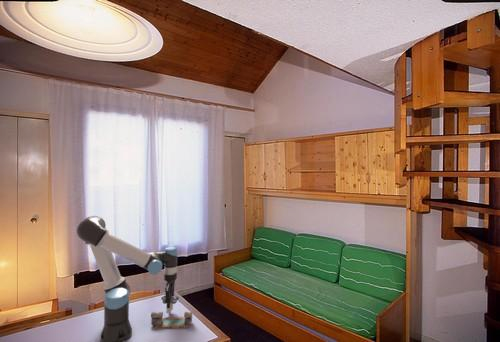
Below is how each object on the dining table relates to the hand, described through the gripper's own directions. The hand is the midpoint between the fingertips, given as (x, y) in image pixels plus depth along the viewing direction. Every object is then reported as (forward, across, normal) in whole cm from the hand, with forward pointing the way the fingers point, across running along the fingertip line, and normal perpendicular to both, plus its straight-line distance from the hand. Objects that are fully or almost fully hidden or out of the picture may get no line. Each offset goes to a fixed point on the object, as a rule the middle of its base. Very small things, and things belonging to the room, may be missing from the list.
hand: (169, 311), depth 164 cm
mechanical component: (+1, 0, 0) cm, 1 cm away
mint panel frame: (+2, -11, -6) cm, 12 cm away
